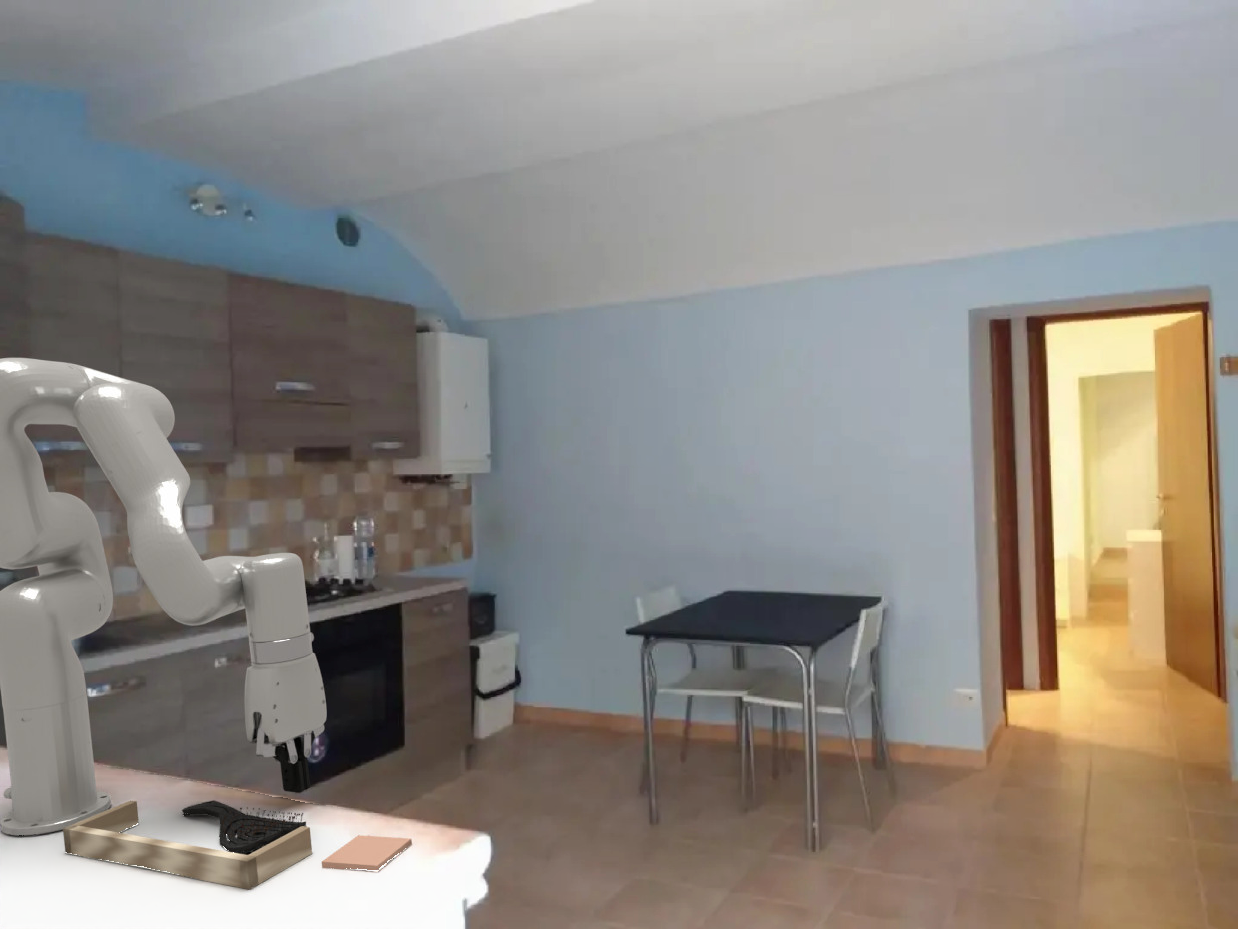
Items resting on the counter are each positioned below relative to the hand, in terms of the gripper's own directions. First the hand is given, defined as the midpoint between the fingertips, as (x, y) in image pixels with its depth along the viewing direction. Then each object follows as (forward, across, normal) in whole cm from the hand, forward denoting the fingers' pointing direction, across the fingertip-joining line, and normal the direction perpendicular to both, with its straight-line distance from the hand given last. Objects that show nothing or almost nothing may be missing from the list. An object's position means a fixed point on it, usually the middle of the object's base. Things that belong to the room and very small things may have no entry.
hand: (297, 789), depth 128 cm
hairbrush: (+2, +9, -1) cm, 9 cm away
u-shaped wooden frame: (+2, +16, -2) cm, 16 cm away
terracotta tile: (+3, +10, +20) cm, 23 cm away
